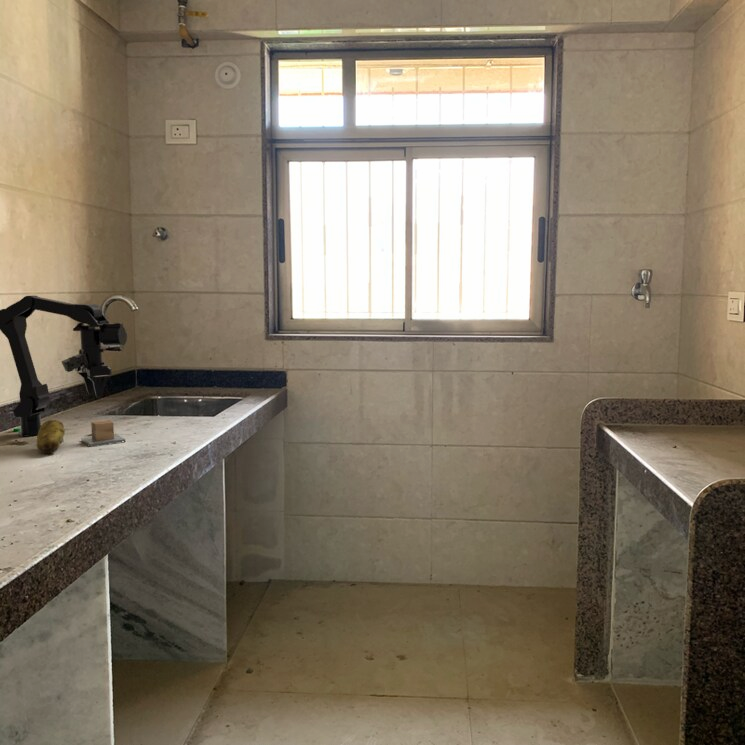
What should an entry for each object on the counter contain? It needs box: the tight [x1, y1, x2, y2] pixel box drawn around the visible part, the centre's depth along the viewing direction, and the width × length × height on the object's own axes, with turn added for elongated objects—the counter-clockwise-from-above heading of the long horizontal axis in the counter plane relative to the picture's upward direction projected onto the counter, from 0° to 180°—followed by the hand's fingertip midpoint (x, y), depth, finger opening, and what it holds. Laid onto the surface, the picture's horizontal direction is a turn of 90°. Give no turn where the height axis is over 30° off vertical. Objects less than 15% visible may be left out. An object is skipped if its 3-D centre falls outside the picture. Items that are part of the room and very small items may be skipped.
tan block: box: [90, 419, 115, 441], centre depth 211 cm, size 5×5×5 cm
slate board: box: [80, 433, 126, 447], centre depth 211 cm, size 10×10×1 cm
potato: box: [36, 419, 65, 455], centre depth 200 cm, size 8×13×8 cm, turn 1°
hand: (94, 396), depth 219 cm, fingers open, 9 cm apart
